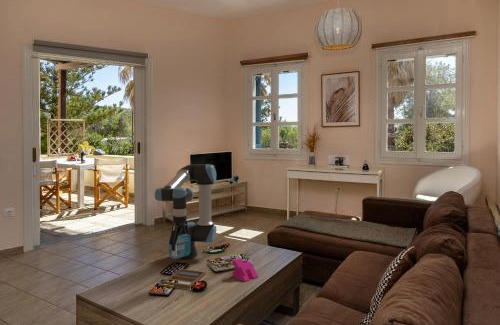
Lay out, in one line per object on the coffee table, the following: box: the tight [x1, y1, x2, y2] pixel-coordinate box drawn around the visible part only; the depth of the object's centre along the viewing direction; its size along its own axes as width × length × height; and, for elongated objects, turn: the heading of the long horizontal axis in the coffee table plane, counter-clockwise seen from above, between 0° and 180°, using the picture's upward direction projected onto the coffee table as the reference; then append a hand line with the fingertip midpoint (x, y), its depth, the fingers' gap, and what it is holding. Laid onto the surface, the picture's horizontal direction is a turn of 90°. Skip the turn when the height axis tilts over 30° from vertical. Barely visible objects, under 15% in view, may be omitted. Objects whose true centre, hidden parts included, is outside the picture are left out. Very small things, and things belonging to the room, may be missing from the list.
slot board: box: [162, 268, 208, 291], centre depth 222 cm, size 22×18×3 cm
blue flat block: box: [168, 234, 190, 260], centre depth 216 cm, size 12×4×12 cm, turn 137°
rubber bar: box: [178, 271, 200, 278], centre depth 227 cm, size 4×12×2 cm, turn 72°
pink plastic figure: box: [232, 257, 259, 283], centre depth 229 cm, size 12×10×10 cm
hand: (180, 252), depth 216 cm, fingers closed on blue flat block, 13 cm apart
